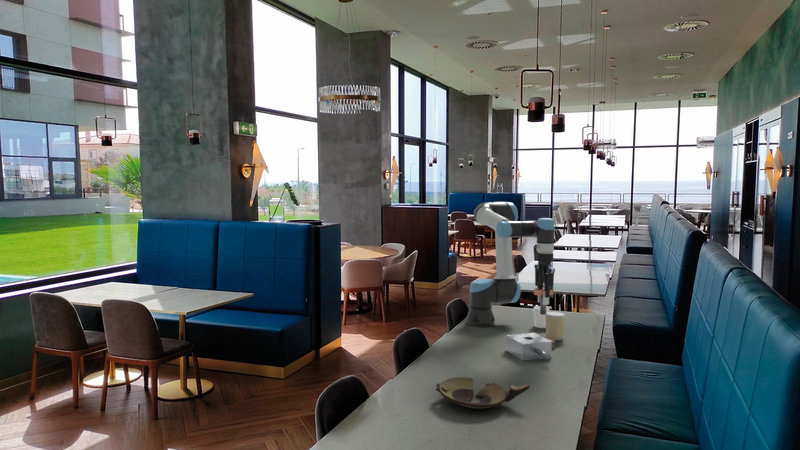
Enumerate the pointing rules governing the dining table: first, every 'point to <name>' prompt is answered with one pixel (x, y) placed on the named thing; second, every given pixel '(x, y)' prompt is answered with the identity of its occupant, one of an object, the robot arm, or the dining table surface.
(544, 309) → the block
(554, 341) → the wooden square frame
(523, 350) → the block
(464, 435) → the dining table surface
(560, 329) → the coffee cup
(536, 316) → the white cup
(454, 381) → the brown curved dish
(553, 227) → the robot arm
